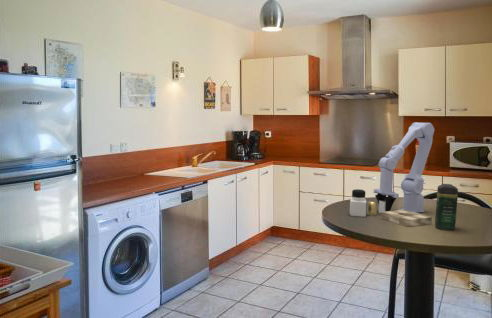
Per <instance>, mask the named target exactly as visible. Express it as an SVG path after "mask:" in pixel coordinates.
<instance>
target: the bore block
mask: <svg viewBox="0 0 492 318" xmlns="http://www.w3.org/2000/svg"><path fill="white" fill-rule="evenodd" d="M380 219H381V220H384V221H388V222H392V223H395V224H398V225H401V226H403V227H407V228H409V227H411V228H412V227H417V226H425V225H426V226H427V225H431V224H432V222H433V221H432V219H433V217H432V216H429V215H426V214H422V213H414V212H411V211H407V210H399V209H397V210H391V211H387V212H381V213H380Z"/></svg>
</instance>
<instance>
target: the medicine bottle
mask: <svg viewBox="0 0 492 318" xmlns="http://www.w3.org/2000/svg"><path fill="white" fill-rule="evenodd" d="M349 201H350V203H349V216H350V217H359V218H360V217H362V218H366V217H367V207H368V201H367V200H366V190H364V189H362V188H361V189H358V188H357V189H353V190H352V191H351V198H350V200H349Z"/></svg>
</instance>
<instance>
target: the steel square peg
mask: <svg viewBox="0 0 492 318" xmlns="http://www.w3.org/2000/svg"><path fill="white" fill-rule="evenodd" d="M381 212H387V211H386V201H385V200H379V205H378V213H379V214H381Z"/></svg>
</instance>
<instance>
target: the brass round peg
mask: <svg viewBox="0 0 492 318" xmlns="http://www.w3.org/2000/svg"><path fill="white" fill-rule="evenodd" d="M377 208H378V201H374V200H373V201H371V200H369V201H367V215H368V216H372V215H375V216H377V210H378V209H377Z"/></svg>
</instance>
